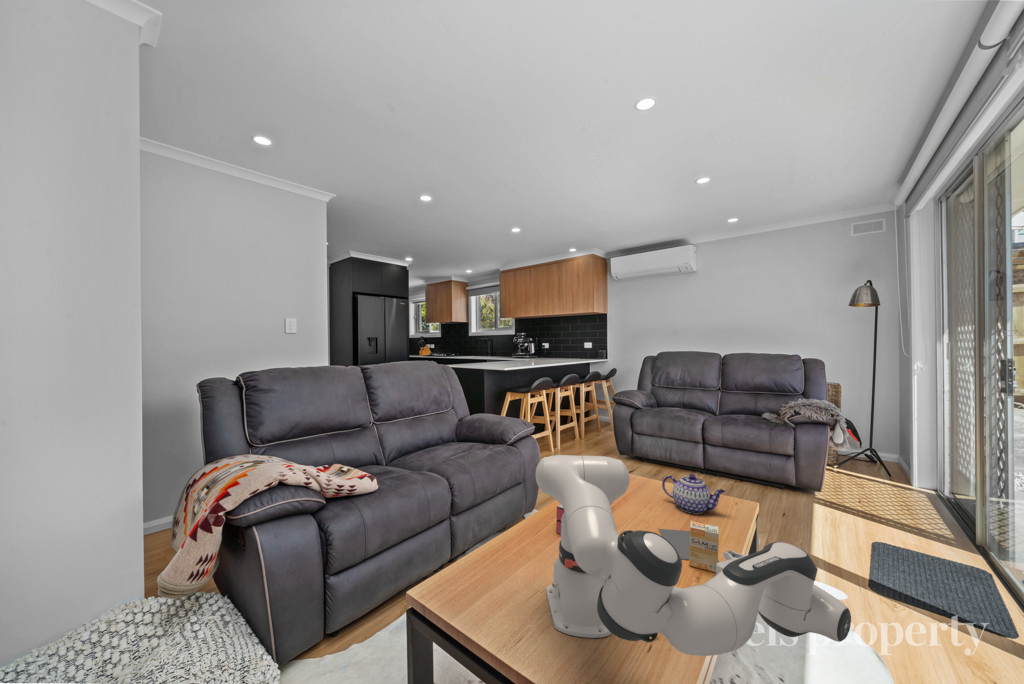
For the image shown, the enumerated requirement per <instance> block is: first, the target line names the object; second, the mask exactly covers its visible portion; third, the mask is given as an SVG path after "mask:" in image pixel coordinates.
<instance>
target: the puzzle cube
mask: <svg viewBox="0 0 1024 684" xmlns="http://www.w3.org/2000/svg"><path fill="white" fill-rule="evenodd" d="M564 512H565V511H564V508H563V507H562V505H561V504H558V505H557V506H556V526H555V528H556V534H558V533H559V535H560V534H561V519H562V515H563V514H564Z"/></svg>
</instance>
